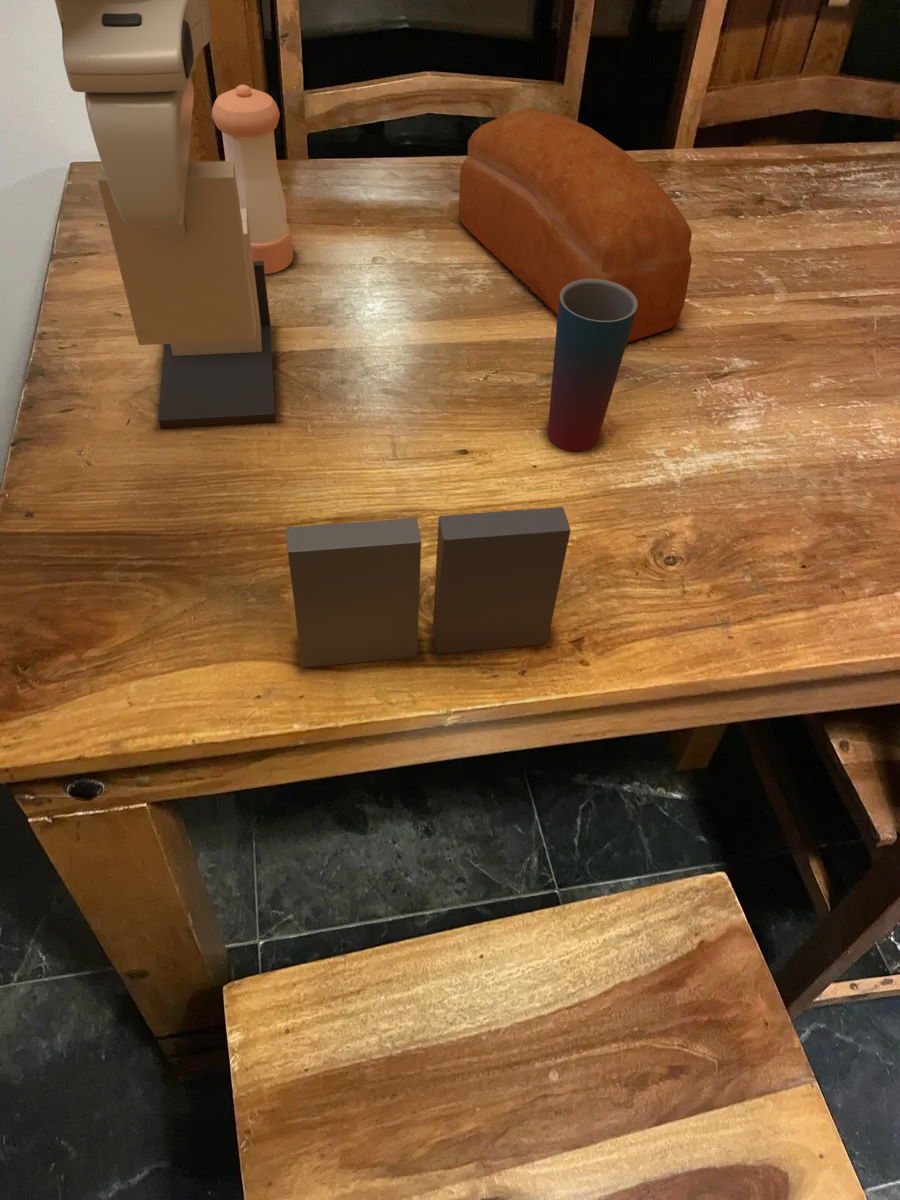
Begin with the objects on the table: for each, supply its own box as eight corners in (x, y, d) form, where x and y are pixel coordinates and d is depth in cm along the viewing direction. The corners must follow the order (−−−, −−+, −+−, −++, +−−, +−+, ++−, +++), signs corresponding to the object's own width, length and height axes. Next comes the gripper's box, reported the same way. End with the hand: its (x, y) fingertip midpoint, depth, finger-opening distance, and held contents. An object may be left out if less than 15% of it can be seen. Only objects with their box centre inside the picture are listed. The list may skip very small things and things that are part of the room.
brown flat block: (138, 345, 73) (97, 180, 63) (140, 328, 74) (100, 163, 64) (255, 340, 74) (233, 176, 64) (255, 322, 75) (233, 160, 65)
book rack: (159, 428, 90) (129, 298, 79) (167, 333, 100) (140, 206, 89) (275, 421, 91) (260, 293, 81) (271, 328, 101) (257, 203, 91)
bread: (538, 197, 124) (553, 71, 112) (691, 325, 106) (728, 190, 94) (446, 217, 119) (453, 88, 107) (590, 355, 101) (616, 217, 89)
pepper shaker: (230, 275, 108) (206, 101, 93) (230, 243, 113) (207, 72, 98) (294, 273, 109) (279, 100, 94) (291, 241, 114) (277, 71, 99)
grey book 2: (436, 654, 74) (443, 539, 64) (432, 631, 75) (438, 515, 65) (547, 644, 75) (571, 530, 65) (540, 621, 76) (563, 506, 67)
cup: (541, 409, 95) (561, 274, 83) (608, 418, 94) (638, 283, 83) (535, 453, 90) (557, 316, 79) (606, 462, 90) (637, 326, 78)
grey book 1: (301, 667, 72) (287, 552, 62) (300, 643, 74) (286, 526, 64) (417, 657, 73) (421, 542, 64) (413, 633, 75) (416, 517, 65)
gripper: (97, -49, 63) (141, 159, 73) (58, 73, 50) (118, 304, 60) (193, -48, 63) (223, 157, 74) (180, 71, 50) (218, 300, 61)
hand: (176, 224), depth 67 cm, fingers closed on brown flat block, 2 cm apart
